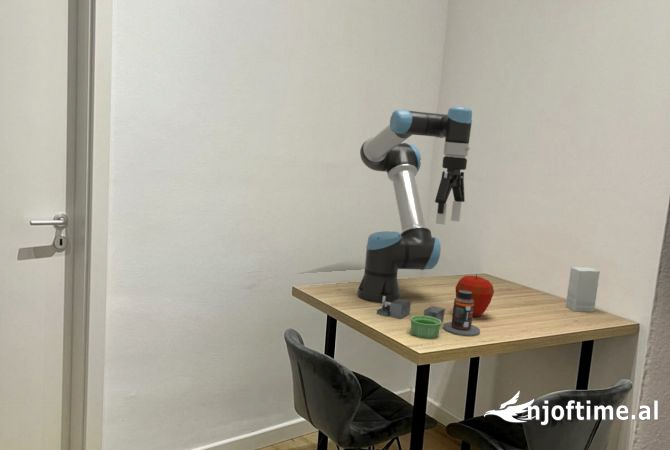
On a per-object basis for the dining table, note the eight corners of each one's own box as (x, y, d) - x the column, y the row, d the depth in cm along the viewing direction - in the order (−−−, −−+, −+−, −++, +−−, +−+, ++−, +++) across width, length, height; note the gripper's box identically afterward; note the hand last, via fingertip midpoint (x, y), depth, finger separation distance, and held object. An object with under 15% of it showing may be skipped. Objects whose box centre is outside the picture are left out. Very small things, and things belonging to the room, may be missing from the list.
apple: (446, 313, 197) (451, 272, 195) (464, 308, 206) (468, 268, 204) (479, 323, 189) (485, 280, 187) (496, 317, 198) (502, 276, 196)
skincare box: (584, 307, 222) (590, 267, 220) (595, 312, 215) (601, 271, 213) (564, 306, 220) (570, 265, 218) (574, 311, 214) (580, 269, 212)
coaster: (437, 330, 178) (438, 327, 178) (450, 322, 188) (450, 319, 187) (473, 338, 173) (473, 336, 172) (484, 330, 182) (484, 327, 182)
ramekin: (442, 333, 176) (444, 319, 175) (435, 341, 168) (437, 326, 167) (413, 327, 179) (415, 313, 179) (405, 335, 171) (406, 320, 170)
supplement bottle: (471, 331, 176) (475, 295, 175) (451, 329, 177) (455, 292, 176) (470, 326, 182) (474, 290, 181) (450, 323, 183) (455, 288, 182)
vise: (375, 313, 190) (376, 298, 189) (387, 308, 198) (389, 293, 197) (433, 328, 180) (435, 312, 179) (444, 321, 188) (446, 306, 187)
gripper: (453, 156, 176) (445, 227, 179) (478, 158, 197) (471, 221, 200) (429, 154, 180) (422, 223, 182) (457, 156, 201) (450, 218, 204)
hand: (447, 222), depth 191 cm, fingers open, 13 cm apart
